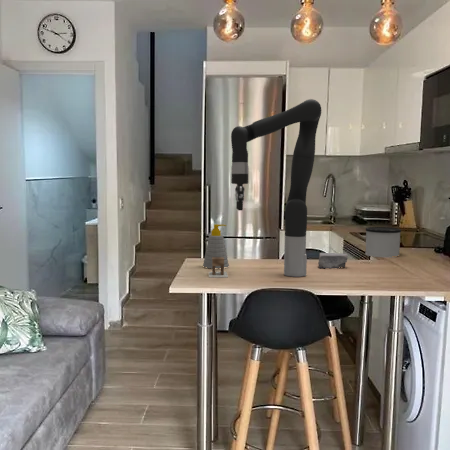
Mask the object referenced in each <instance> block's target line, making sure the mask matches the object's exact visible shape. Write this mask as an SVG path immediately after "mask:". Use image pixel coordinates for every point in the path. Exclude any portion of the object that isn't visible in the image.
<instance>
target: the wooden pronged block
mask: <svg viewBox="0 0 450 450" xmlns="http://www.w3.org/2000/svg"><path fill="white" fill-rule="evenodd" d="M215 266H221V269H220V272H221V275H224V272H225V269H224V257H212V269H211V272H212V274H213V275H215V272H216V269H215Z"/></svg>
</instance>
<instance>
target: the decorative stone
mask: <svg viewBox="0 0 450 450" xmlns="http://www.w3.org/2000/svg"><path fill="white" fill-rule="evenodd" d="M348 256H349V255H348V254H346V253H335V252H319V256H318V267H319V269H321V268H339V267H344V268H345V267H346V263H347V262H348V258H349V257H348ZM339 269H340V268H339Z"/></svg>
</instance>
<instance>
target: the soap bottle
mask: <svg viewBox="0 0 450 450" xmlns="http://www.w3.org/2000/svg"><path fill="white" fill-rule="evenodd" d="M219 227H227V224H224V223H223V224H217V223H216V224H213V228H212V230H210V231H211V234H210V235H209V236H208V240H207V244H206V250H205V254H204V259H203V263H202V267H203V266H204V267H207V268H212V257H224V267H228V266H230V265H229V260H228V253H227V250H226V249H227V248H226V243H225V240H224V235H222V232H221V231H222V230H220V228H219ZM204 267H203V268H204ZM207 268H206V269H207ZM215 268H221V266H215ZM228 268H229V267H228Z"/></svg>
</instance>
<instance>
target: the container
mask: <svg viewBox="0 0 450 450" xmlns="http://www.w3.org/2000/svg"><path fill="white" fill-rule="evenodd" d="M365 231H366V233H365V253H364V255H366V256H369V257H375V258H393V257H392V256H398V255H400V251H401V250H400V249H401V248H400V247H401V245H400V243H401V233H402V229H400V228H397V227H389V226H388V227H386V226H385V227H384V226H372V227H371V226H370V227H366V228H365Z"/></svg>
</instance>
